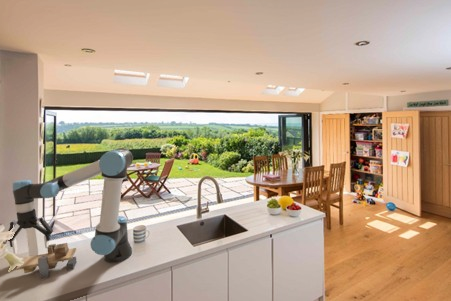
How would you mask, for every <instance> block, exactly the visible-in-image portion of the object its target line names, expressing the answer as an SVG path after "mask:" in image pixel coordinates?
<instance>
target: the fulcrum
mask: <svg viewBox="0 0 451 301" xmlns="http://www.w3.org/2000/svg"><path fill="white" fill-rule="evenodd" d="M56 245H57V244H56V243H51V244H49V246H48V247H52V248H53V252H54V248H55V247H56ZM48 247H47V253H49V250H48ZM38 265H39V266H38V271H39V279H40V280H47V279H49V278H50V269H49V266H48V258H47V256H45V257H39V258H38Z"/></svg>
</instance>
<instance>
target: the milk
mask: <svg viewBox="0 0 451 301" xmlns="http://www.w3.org/2000/svg"><path fill="white" fill-rule="evenodd" d="M37 223H38V224H39V225H40V226H41V227H43V225H42V224H41V223H40V222H39V221H37ZM43 228H44V227H43ZM44 229H45V228H44ZM25 232H26V239H27V241H26V242H27V248H28V257H31V256H36V255H41V254H47V253H48V249H47V248H45V243H44V234H43V233H41V232H40V231H38V230H37V229H36V228H33V227H32V228H26V229H25Z"/></svg>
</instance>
